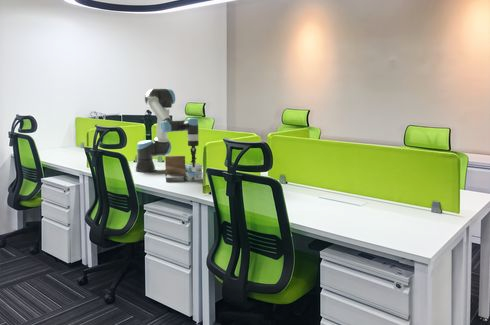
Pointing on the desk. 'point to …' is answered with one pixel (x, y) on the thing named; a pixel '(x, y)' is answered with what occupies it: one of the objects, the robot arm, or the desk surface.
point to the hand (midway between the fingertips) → (193, 170)
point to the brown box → (175, 168)
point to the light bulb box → (193, 175)
